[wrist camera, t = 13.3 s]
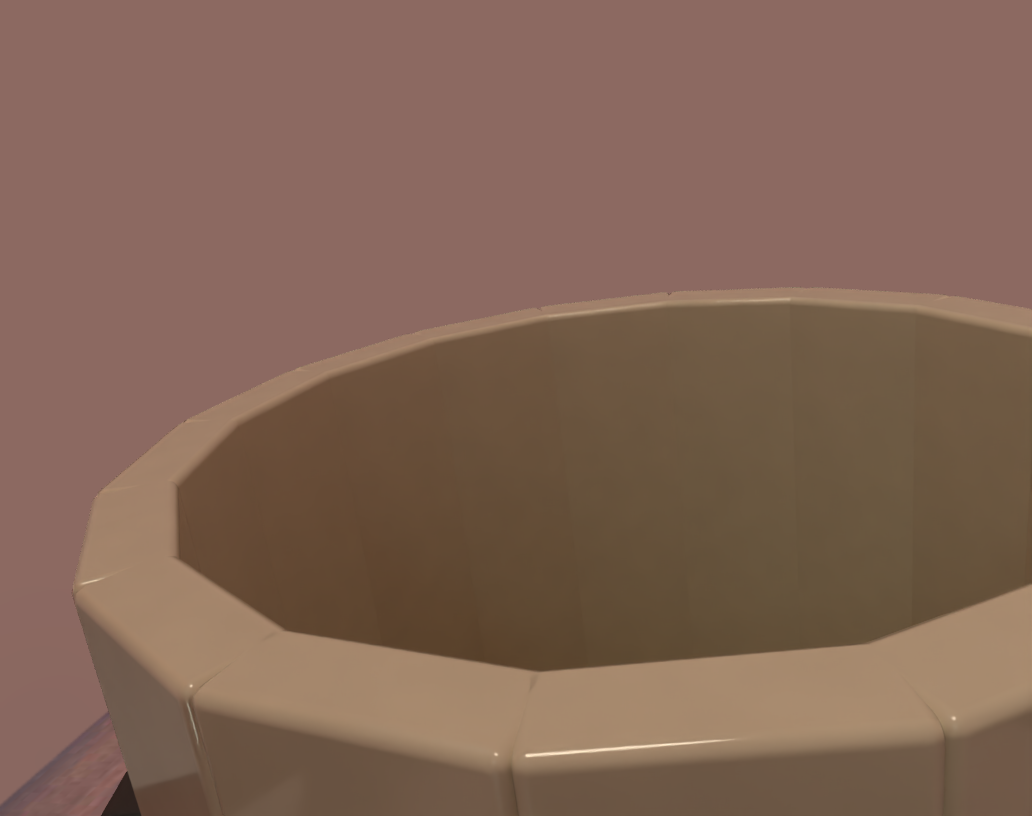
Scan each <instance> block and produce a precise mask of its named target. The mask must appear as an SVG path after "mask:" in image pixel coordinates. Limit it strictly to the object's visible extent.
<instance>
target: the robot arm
mask: <svg viewBox="0 0 1032 816" xmlns="http://www.w3.org/2000/svg"><path fill="white" fill-rule="evenodd" d="M101 816H141V813H140V809H139V806H138V803H137V800H136V797H135V794H134V790H133V787H132V784H131V781H130V778H129V774H128V771H127V772H126V773H125V775H124V777H123V779H122V780H121V782H120V784H119V785H118V787H117V789H116V791H115V792H114V794H113V796H112V798H111V799H110V801H109V803H108V805H107V806H106V808H105V810H104V811H103V813H102V815H101Z"/></svg>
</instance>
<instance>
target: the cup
mask: <svg viewBox="0 0 1032 816" xmlns="http://www.w3.org/2000/svg"><path fill="white" fill-rule="evenodd" d="M72 596H73V599H74V603H75V606H76V609H77V613H78V616H79V619H80V622H81V625H82V628H83V631H84V634H85V638H86V641H87V644H88V647H89V651H90V653H91V657H92V660H93V663H94V667H95V670H96V673H97V676H98V679H99V682H100V685H101V689H102V692H103V695H104V698H105V701H106V705H107V708H108V711H109V714H110V717H111V721H112V724H113V727H114V730H115V733H116V736H117V740H118V743H119V746H120V749H121V752H122V755H123V759H124V762H125V765H126V768H127V771H128V774H129V778H130V781H131V784H132V787H133V790H134V794H135V797H136V800H137V803H138V806H139V809H140V813H141V816H1032V309H1028V308H1021V307H1016V306H1010V305H1005V304H999V303H993V302H988V301H982V300H976V299H971V298H964V297H958V296H953V297H949V296H947V295H941V294H923V293H905V292H887V291H869V290H852V289H834V288H833V289H832V288H814V287H812V288H809V289H805V288H802V287H795V288H794V287H792V288H763V289H736V290H708V291H707V290H705V291H677V292H673V293H670V294H668V293H665V292H663V293H654V294H646V295H637V296H628V297H620V298H611V299H603V300H594V301H586V302H577V303H568V304H560V305H551V306H543V307H542V308H540V309H537V308H530V309H526V310H520V311H516V312H511V313H506V314H501V315H496V316H491V317H486V318H481V319H476V320H471V321H466V322H461V323H456V324H452V325H446V326H441V327H436V328H431V329H426V330H421V331H417V332H416V333H414V334H406V335H403V336H400V337H396V338H393V339H390V340H387V341H383V342H380V343H377V344H373V345H370V346H367V347H364V348H360V349H357V350H354V351H351V352H348V353H344V354H341V355H338V356H335V357H331V358H328V359H325V360H322V361H319V362H315V363H312V364H309V365H306V366H302V367H299V368H297V369H296V370H294V371H288V372H286V373H284V374H282V375H280V376H278V377H276V378H274V379H271V380H270V381H267V382H265V383H263V384H261V385H259V386H257V387H255V388H253V389H250V390H248V391H246V392H244V393H242V394H240V395H238V396H236V397H234V398H231V399H230V400H227V401H225V402H223V403H221V404H219V405H217V406H215V407H213V408H210V409H208V410H206V411H204V412H202V413H200V414H198V415H196V416H194V417H191V418H189V419H188V420H186V421H184V422H183V423H181V424H179V425H178V426H176V427H175V428H173V429H172V430H171V431H170V432H169V433H168V434H166V435H165V436H164V437H163V438H162V439H161V440H159V441H158V442H157V443H156V444H155V445H154V446H152V447H151V448H150V449H149V450H148V451H146V452H145V453H144V454H143V455H142V456H140V457H139V458H138V459H137V460H136V461H135V462H133V463H132V464H131V465H130V466H129V467H127V469H125V470H124V471H123V472H122V473H120V474H119V475H118V476H117V477H116V478H115V479H113V480H112V481H111V482H110V483H109V484H107V485H106V486H105V487H104V488H103V489H102V490H100V491H99V493H98V496H97V497H96V498H94V499H93V502H92V506H91V510H90V515H89V519H88V523H87V528H86V532H85V536H84V540H83V545H82V549H81V553H80V558H79V562H78V566H77V571H76V575H75V579H74V584H73V589H72Z"/></svg>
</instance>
